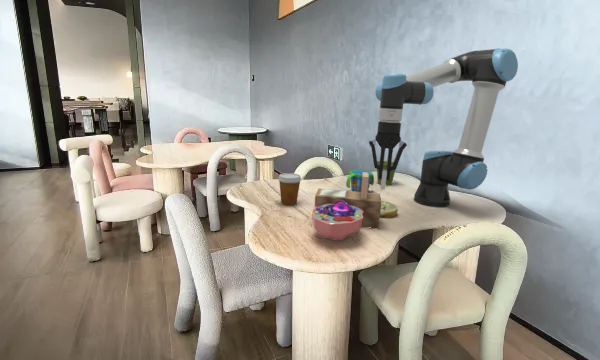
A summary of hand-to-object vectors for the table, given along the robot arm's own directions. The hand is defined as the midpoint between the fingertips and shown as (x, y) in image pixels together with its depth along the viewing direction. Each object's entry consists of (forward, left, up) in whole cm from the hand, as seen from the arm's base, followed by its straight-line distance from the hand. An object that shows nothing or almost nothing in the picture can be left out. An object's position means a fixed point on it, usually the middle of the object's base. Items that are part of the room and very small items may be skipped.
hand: (382, 188), depth 124 cm
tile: (+6, 0, -4) cm, 7 cm away
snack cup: (+7, -39, -14) cm, 42 cm away
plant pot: (-6, -61, -14) cm, 62 cm away
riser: (+12, 0, -14) cm, 18 cm away
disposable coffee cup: (+36, -14, -14) cm, 41 cm away
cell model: (+14, +15, -14) cm, 25 cm away
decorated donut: (-2, -13, -14) cm, 19 cm away
